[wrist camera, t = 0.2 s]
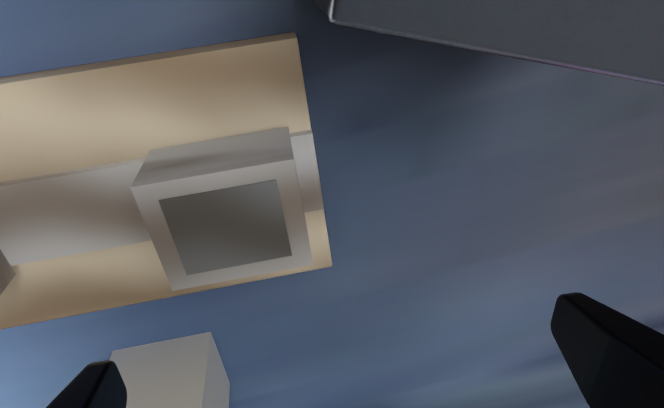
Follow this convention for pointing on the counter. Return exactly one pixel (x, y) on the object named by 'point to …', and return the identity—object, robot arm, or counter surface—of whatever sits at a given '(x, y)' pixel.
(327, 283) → the counter surface
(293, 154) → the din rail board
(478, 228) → the counter surface
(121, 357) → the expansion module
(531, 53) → the small box
